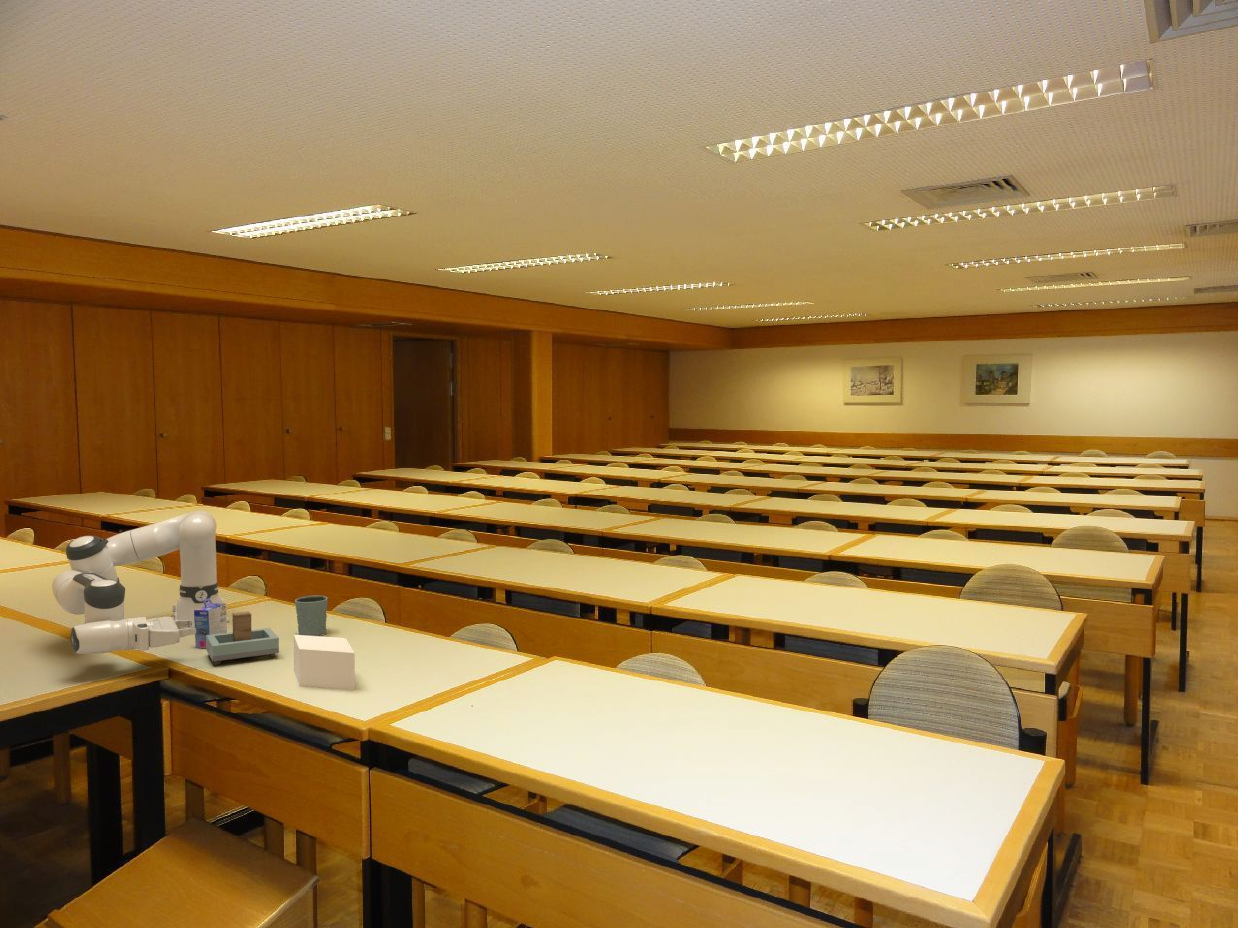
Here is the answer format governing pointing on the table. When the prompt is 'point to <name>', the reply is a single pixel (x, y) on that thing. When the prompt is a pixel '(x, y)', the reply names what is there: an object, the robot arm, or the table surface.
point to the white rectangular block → (324, 662)
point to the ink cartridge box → (209, 621)
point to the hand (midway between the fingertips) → (193, 626)
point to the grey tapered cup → (311, 615)
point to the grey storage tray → (242, 645)
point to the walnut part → (241, 626)
